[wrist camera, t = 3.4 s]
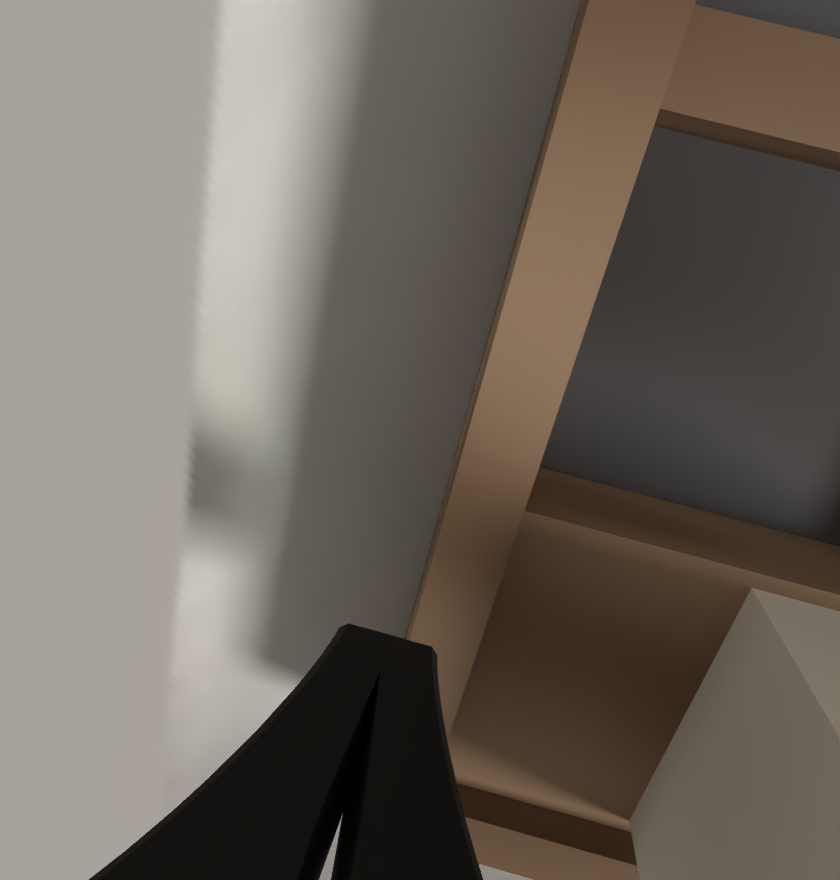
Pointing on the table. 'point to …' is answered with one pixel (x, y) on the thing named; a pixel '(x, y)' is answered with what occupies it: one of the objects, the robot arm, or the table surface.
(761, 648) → the cream block
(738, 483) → the tray
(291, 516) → the table surface
